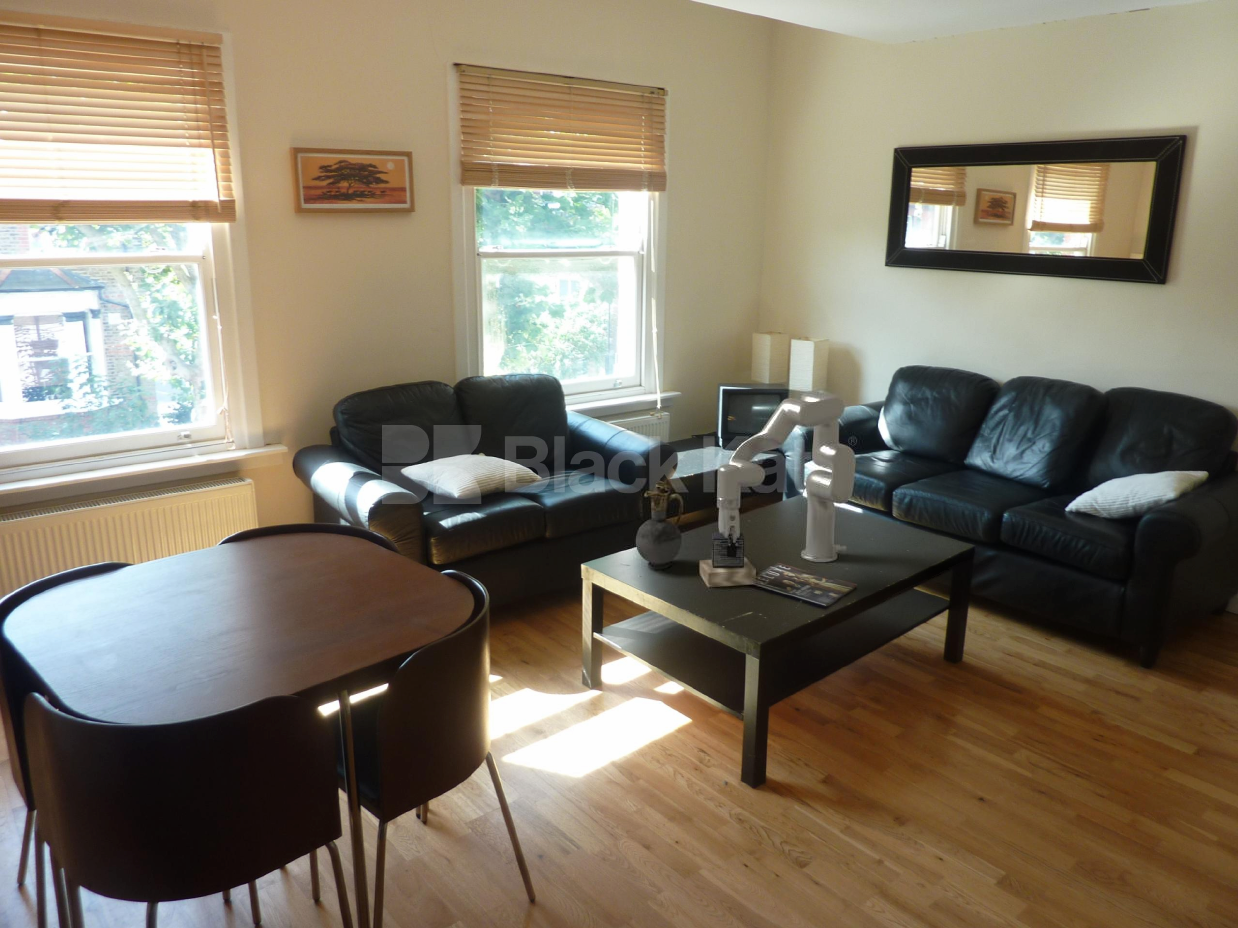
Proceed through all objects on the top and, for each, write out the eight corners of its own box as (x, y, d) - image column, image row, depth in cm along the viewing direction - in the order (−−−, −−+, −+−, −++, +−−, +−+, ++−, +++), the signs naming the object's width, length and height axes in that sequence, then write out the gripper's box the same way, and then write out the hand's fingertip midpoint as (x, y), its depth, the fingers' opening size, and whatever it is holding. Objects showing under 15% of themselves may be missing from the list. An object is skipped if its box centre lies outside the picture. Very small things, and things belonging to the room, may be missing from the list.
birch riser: (744, 571, 323) (745, 557, 322) (755, 583, 311) (755, 569, 310) (699, 574, 320) (699, 560, 319) (708, 587, 309) (708, 572, 308)
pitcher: (631, 566, 328) (630, 484, 320) (671, 554, 339) (672, 474, 332) (652, 575, 320) (652, 490, 312) (692, 562, 331) (693, 480, 324)
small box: (742, 561, 318) (743, 531, 315) (744, 568, 312) (745, 538, 309) (711, 561, 318) (711, 531, 316) (712, 568, 312) (712, 538, 309)
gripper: (747, 509, 301) (745, 559, 306) (732, 494, 318) (731, 542, 322) (724, 510, 300) (723, 561, 305) (710, 495, 317) (710, 543, 321)
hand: (727, 551), depth 313 cm, fingers open, 9 cm apart
